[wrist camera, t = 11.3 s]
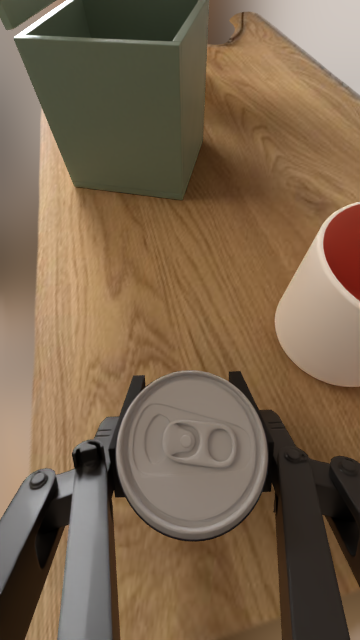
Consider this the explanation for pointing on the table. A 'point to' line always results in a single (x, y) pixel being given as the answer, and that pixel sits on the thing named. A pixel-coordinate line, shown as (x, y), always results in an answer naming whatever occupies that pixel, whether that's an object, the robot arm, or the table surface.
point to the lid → (20, 11)
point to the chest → (123, 90)
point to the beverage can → (191, 455)
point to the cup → (326, 304)
